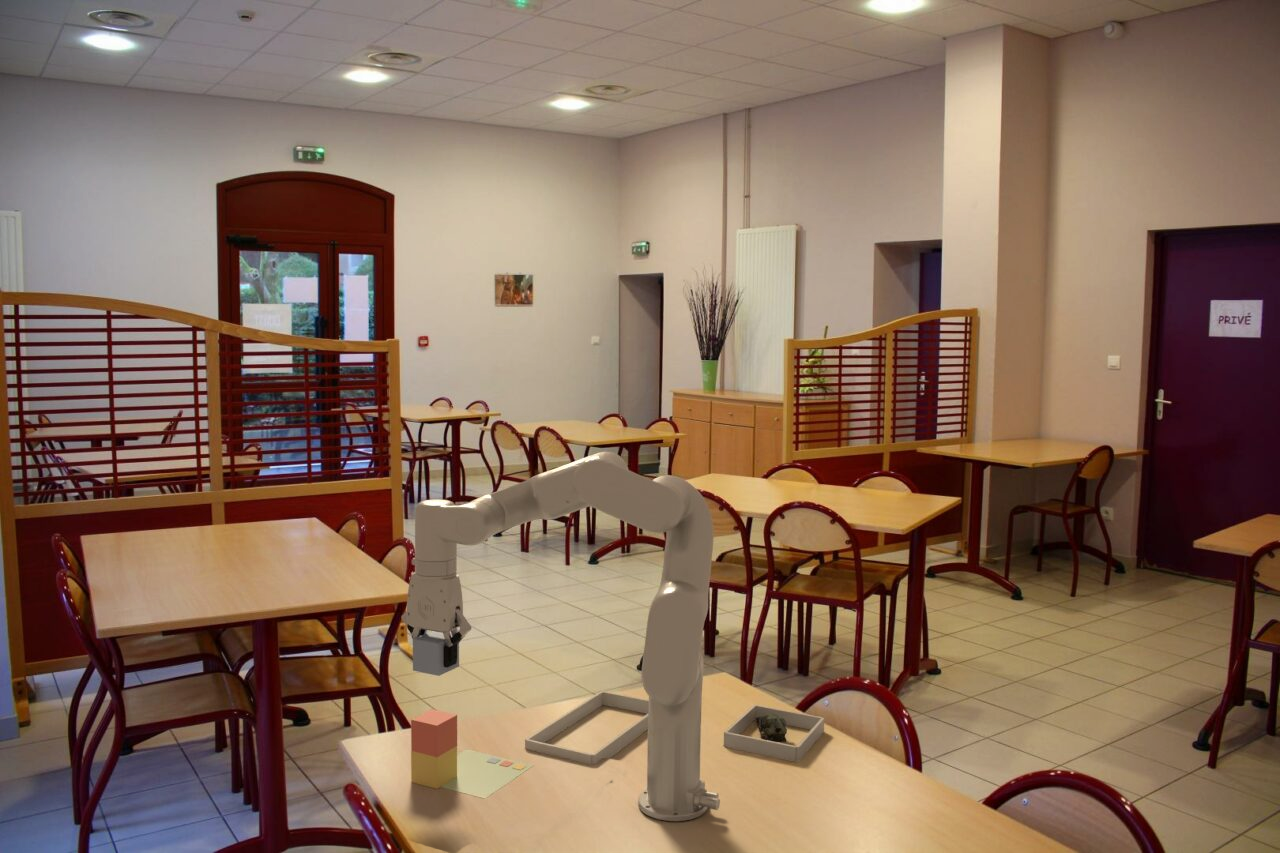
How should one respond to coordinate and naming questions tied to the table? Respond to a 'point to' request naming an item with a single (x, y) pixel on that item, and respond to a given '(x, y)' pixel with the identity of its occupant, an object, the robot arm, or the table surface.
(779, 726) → the dark grey lumpy lump
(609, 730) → the table surface
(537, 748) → the beige open rectangular frame
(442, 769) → the ochre block
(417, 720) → the red block
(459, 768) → the building board
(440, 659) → the slate block
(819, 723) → the shell frame
